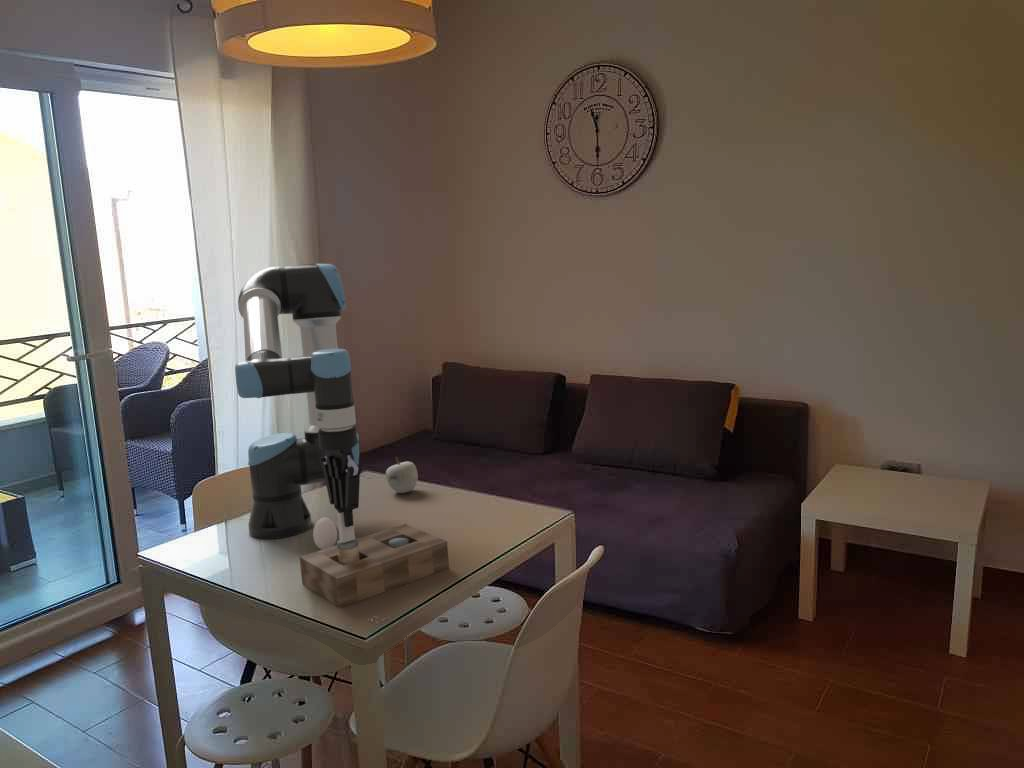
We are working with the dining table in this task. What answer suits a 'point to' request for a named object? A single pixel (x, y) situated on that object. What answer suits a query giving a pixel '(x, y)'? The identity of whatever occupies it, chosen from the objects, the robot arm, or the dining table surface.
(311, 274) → the robot arm
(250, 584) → the dining table surface
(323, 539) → the egg
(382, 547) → the walnut board
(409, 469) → the decorative object
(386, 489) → the dining table surface
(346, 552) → the dowel
